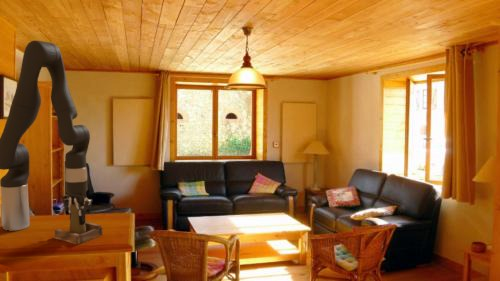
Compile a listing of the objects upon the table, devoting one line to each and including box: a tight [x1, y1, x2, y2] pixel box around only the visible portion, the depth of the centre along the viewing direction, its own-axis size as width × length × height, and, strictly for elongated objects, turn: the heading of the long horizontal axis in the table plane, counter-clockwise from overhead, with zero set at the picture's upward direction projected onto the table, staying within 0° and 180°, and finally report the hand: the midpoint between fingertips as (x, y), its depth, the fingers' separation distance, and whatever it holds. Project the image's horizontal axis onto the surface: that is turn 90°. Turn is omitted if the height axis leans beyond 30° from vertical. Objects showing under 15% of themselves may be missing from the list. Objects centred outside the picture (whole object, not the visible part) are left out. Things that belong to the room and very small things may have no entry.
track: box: [53, 221, 103, 246], centre depth 153 cm, size 13×11×4 cm
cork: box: [68, 204, 86, 234], centre depth 153 cm, size 6×6×11 cm
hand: (77, 223), depth 153 cm, fingers closed on cork, 4 cm apart
